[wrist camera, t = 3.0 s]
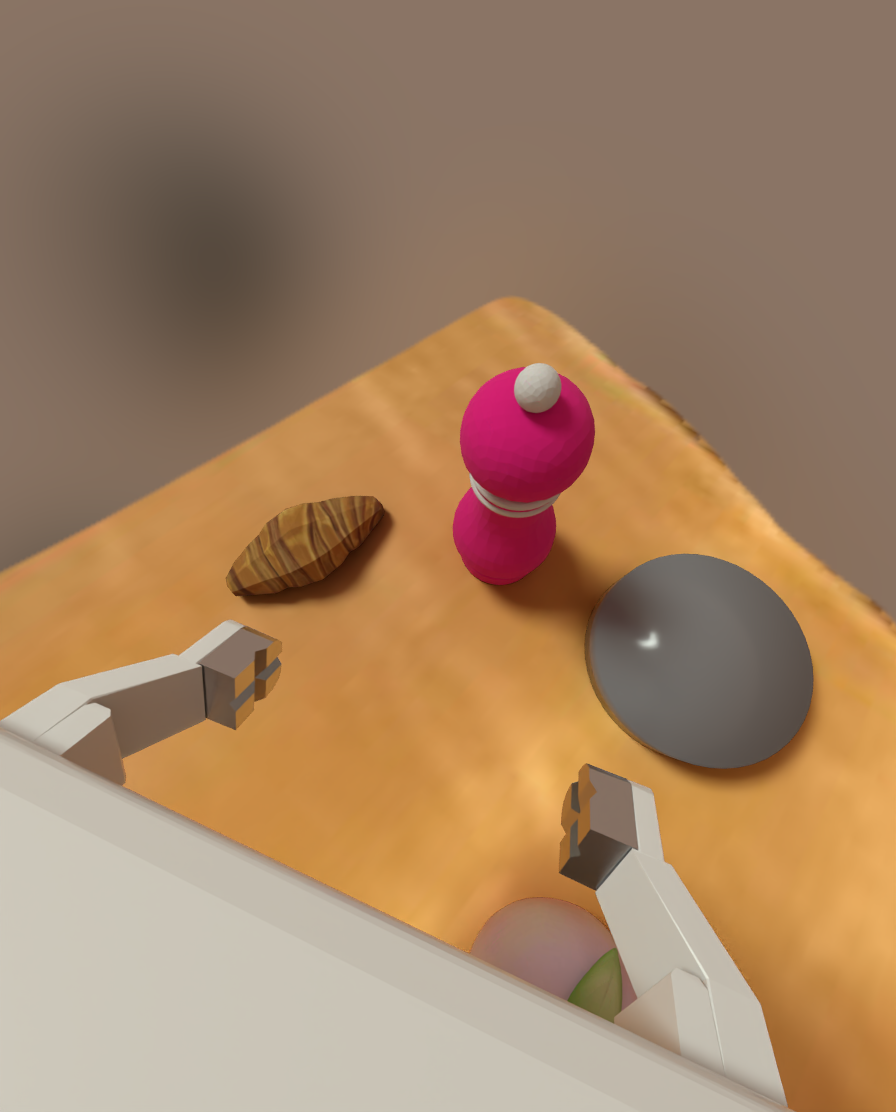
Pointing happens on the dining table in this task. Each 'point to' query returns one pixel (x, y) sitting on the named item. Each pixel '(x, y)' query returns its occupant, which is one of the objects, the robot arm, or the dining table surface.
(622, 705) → the smooth gray stone
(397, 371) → the dining table surface
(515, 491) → the pepper mill
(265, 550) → the croissant
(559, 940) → the decorative fruit
